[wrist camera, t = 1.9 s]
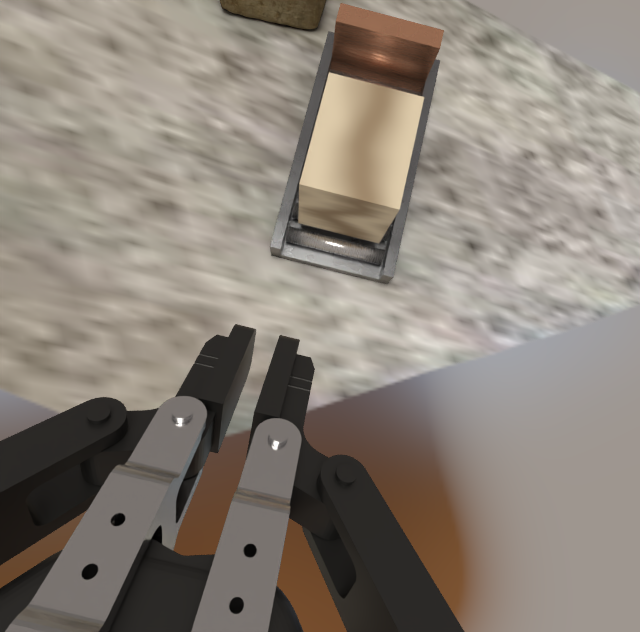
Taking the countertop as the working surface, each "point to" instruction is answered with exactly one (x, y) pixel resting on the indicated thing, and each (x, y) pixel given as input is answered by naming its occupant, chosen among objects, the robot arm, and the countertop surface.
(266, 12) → the stone block
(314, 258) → the roller track
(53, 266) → the countertop surface
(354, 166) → the birch slab
